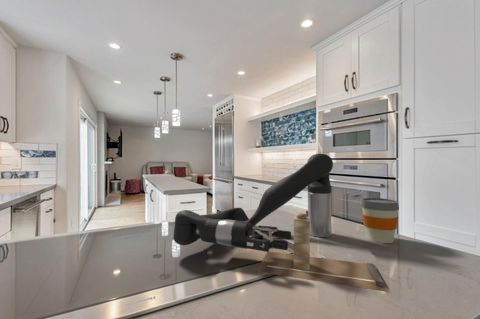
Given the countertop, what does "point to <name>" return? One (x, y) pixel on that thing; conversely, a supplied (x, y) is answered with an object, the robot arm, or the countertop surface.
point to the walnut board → (325, 271)
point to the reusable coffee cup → (380, 219)
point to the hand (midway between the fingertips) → (289, 240)
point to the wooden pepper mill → (302, 241)
